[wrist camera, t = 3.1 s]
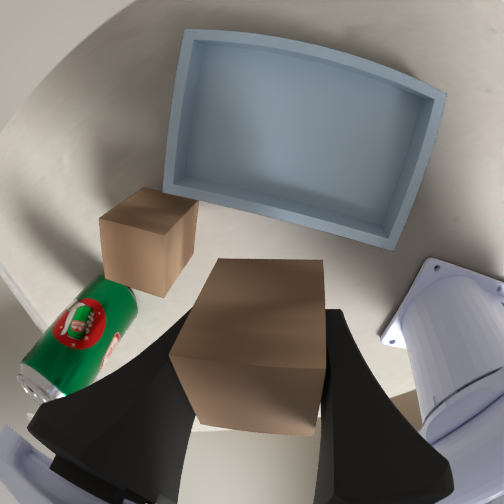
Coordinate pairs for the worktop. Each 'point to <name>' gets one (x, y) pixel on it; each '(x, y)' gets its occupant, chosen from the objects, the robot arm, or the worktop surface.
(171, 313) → the worktop surface
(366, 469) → the robot arm
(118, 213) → the walnut block
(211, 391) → the walnut block
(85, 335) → the soda can
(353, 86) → the tray
